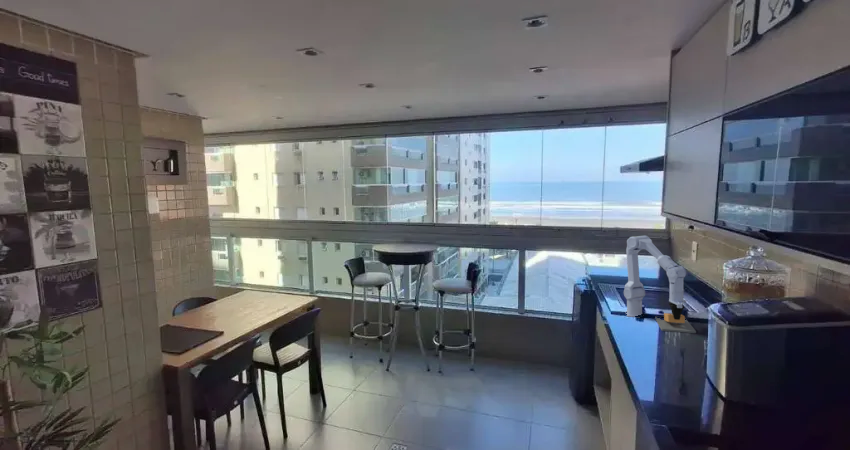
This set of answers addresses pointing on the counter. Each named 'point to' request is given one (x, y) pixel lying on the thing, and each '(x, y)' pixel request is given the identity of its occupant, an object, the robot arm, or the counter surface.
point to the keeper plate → (675, 326)
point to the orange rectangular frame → (670, 318)
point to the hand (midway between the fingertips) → (676, 318)
